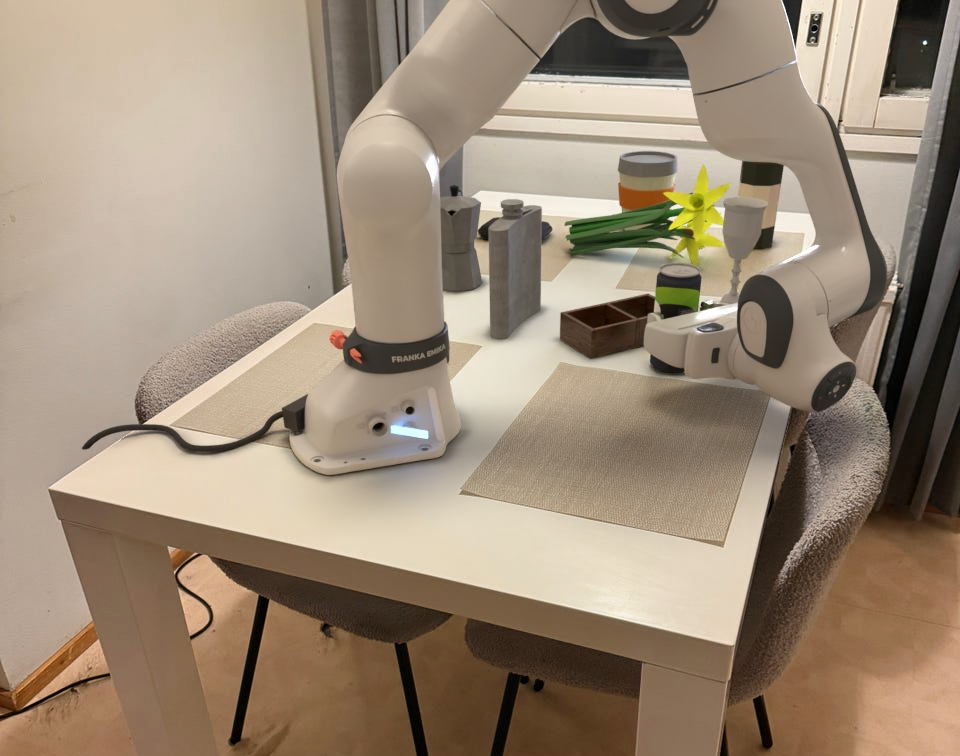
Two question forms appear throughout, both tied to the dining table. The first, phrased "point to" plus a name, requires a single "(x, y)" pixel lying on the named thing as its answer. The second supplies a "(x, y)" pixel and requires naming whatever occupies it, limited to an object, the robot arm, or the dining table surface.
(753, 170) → the wine bottle
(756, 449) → the dining table surface
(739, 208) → the chalice
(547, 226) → the carrying case
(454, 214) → the coffeepot
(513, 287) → the hip flask
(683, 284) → the beverage can
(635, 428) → the dining table surface
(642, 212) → the daffodil flowers
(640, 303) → the divided box
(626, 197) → the reusable coffee cup
